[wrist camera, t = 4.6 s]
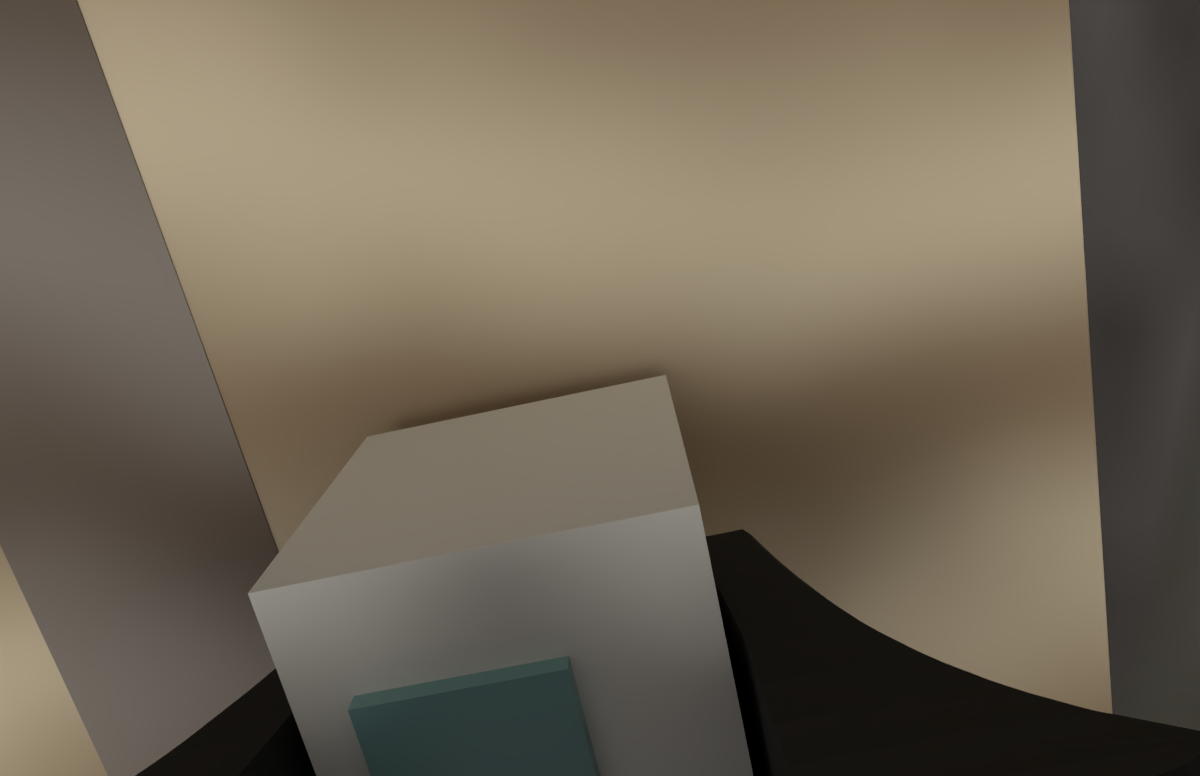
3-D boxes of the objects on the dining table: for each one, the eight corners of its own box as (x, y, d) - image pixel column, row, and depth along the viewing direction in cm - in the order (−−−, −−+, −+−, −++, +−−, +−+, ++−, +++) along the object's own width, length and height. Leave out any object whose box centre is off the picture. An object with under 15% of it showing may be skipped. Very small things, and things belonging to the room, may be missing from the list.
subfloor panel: (1073, 678, 15) (1114, 726, 14) (-104, 894, 16) (-159, 954, 15) (1004, -247, 11) (1052, -292, 10) (-538, 144, 12) (-659, 146, 11)
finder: (743, 755, 13) (807, 1042, 9) (481, 802, 13) (427, 1101, 9) (666, 374, 11) (702, 514, 7) (366, 436, 11) (239, 605, 7)
